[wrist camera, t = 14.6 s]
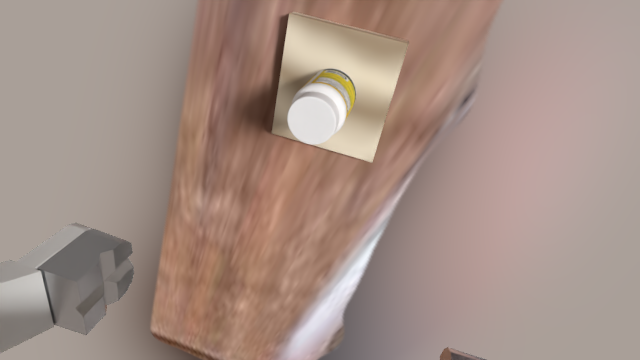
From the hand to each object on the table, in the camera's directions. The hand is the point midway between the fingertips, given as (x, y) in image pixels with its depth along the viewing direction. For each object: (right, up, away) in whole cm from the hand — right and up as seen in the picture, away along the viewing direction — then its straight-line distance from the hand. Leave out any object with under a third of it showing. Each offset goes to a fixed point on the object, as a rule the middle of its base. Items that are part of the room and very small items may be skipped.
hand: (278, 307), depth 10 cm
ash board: (+3, +12, +29) cm, 32 cm away
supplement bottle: (+2, +12, +28) cm, 30 cm away
